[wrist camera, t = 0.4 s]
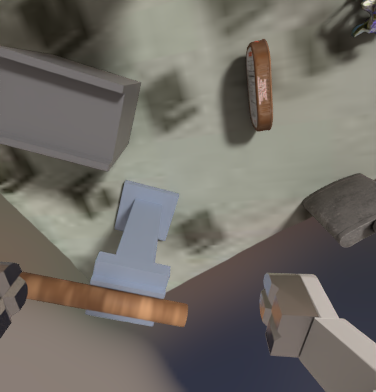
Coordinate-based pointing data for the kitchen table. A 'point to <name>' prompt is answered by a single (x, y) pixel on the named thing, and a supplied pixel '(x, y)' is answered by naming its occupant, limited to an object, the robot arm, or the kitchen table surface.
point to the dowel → (104, 300)
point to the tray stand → (64, 108)
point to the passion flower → (375, 5)
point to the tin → (259, 85)
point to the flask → (345, 208)
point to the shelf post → (137, 246)
